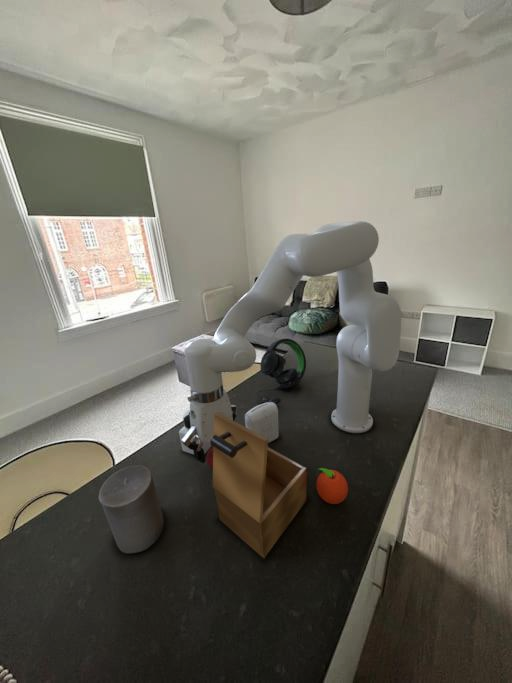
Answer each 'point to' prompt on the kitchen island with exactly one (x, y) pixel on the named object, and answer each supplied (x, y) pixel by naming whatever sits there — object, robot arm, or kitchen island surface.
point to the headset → (274, 368)
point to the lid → (239, 465)
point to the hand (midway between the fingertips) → (215, 448)
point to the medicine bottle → (186, 428)
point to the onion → (210, 457)
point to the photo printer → (263, 420)
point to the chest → (268, 504)
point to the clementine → (331, 486)
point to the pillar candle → (132, 508)
